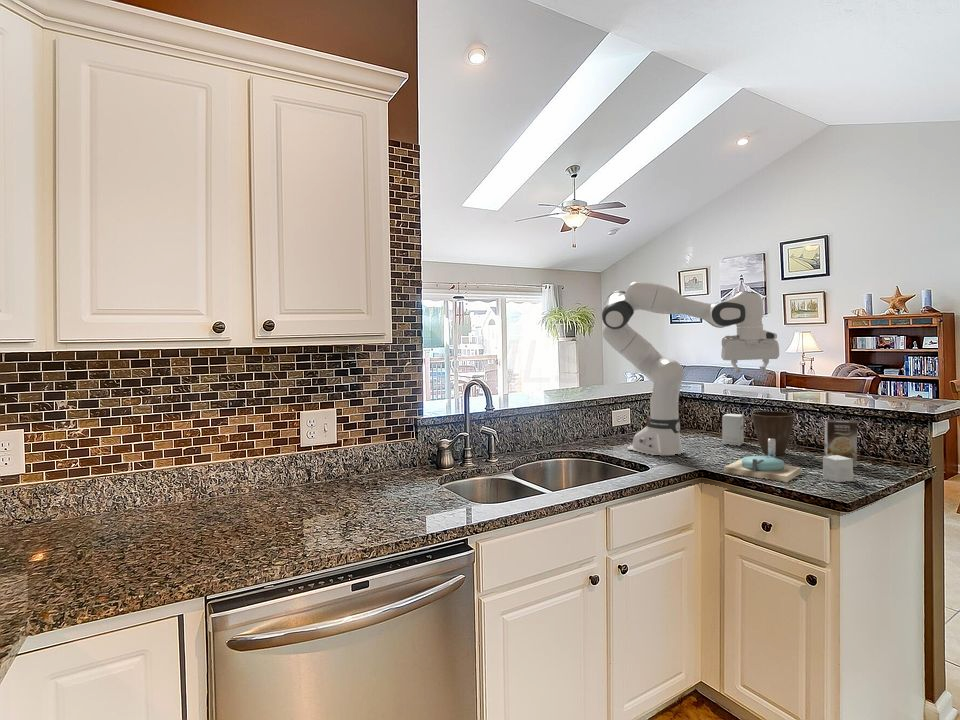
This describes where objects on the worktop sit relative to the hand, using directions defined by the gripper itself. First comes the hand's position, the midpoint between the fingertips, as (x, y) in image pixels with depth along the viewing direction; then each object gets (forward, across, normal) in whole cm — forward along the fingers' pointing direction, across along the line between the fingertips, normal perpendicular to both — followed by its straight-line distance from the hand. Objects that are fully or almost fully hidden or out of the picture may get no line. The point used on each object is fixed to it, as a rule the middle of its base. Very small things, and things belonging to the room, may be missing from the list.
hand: (750, 371), depth 202 cm
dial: (+32, -2, -15) cm, 35 cm away
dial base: (+34, -4, -16) cm, 38 cm away
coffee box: (+34, +28, -9) cm, 45 cm away
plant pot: (+34, +14, +11) cm, 39 cm away
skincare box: (+34, +16, -27) cm, 46 cm away
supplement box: (+34, +7, +31) cm, 47 cm away
